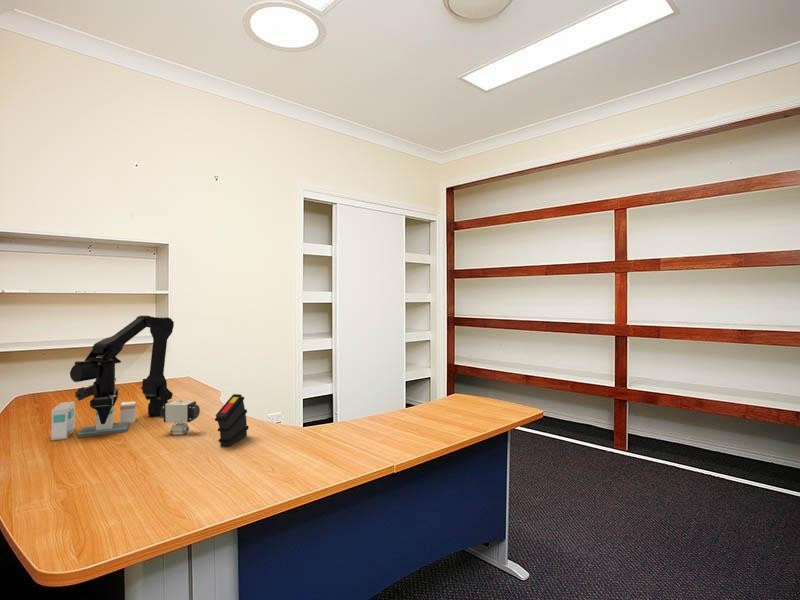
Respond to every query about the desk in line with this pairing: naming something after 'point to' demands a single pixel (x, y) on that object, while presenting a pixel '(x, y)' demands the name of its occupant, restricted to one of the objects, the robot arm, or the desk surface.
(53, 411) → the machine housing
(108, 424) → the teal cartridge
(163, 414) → the pneumatic valve
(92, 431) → the plate
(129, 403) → the light grey boxy piece
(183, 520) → the desk surface
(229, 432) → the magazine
